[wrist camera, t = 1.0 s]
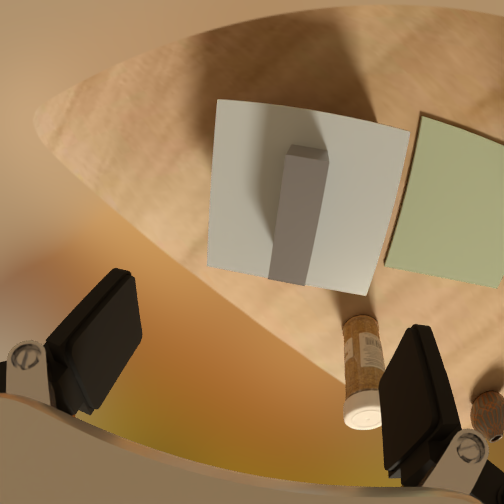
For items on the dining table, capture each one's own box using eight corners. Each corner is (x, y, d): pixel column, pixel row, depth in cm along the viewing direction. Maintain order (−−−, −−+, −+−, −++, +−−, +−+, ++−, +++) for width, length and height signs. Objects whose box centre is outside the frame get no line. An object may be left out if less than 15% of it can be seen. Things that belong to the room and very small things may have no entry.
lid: (401, 128, 20) (429, 140, 15) (363, 279, 27) (371, 328, 21) (227, 98, 22) (196, 100, 16) (215, 252, 28) (189, 293, 23)
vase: (507, 383, 37) (522, 422, 29) (491, 408, 40) (502, 446, 32) (476, 387, 38) (489, 430, 31) (461, 412, 41) (470, 452, 34)
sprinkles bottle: (335, 326, 37) (333, 418, 26) (365, 306, 35) (376, 399, 24) (356, 347, 38) (359, 436, 27) (386, 329, 36) (400, 419, 25)
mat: (539, 162, 23) (541, 163, 23) (496, 286, 31) (497, 288, 30) (421, 115, 25) (422, 116, 25) (384, 264, 33) (384, 266, 32)
